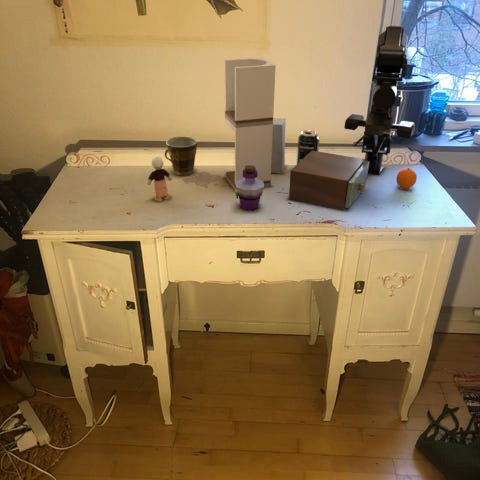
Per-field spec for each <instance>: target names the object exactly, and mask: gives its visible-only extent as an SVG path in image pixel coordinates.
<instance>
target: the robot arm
mask: <svg viewBox="0 0 480 480" xmlns="http://www.w3.org/2000/svg"><path fill="white" fill-rule="evenodd" d="M408 38H409V36H408V34H406V32H405V27H404V26H400V25H388V26H385V30H384V31H382V32H381V33H380V34H379V35H378V40H377V46H376V53H375V60H374V66H373V72H372V81H375V84H374V90H373V96H372V103H371V108H370V111H369V113H368V115H367V118H366V119H365V117H364V115H363V114H356V113H351V114H350V115H349V116H348V117H347V118H346V119H345V121H344V126H343V127H344V129H345V130H348V131H349V130H351V131H356V130H357V129H358V128H359V127H360V128H361V127H362V128H364V131H363V140H362V147H361V154H363V153H365V154H364V159H365V161H369V168H368V173H369V174H373V175H380V174H381V173H382V171H383V170H384V165H383V157H384V155H386V156H388V155H390V153H391V149H392V145H393V144H392V143H393V140H392V138H391V136H392V135H393V133H394V132H396V136H397V137H398V138H403V139H411V138H412V136H413V135H414V133H415V131H416V123H415V122H413V121H407V120H401V121H400V122H399V124H398V123H394V117H393V112H394V106H395V103H396V100H397V88H398V83H399V82H403V79H404V78H406V74H407V70H408V69H407V68H408V63H409V59H408V55H407V54H406V51H407V47H408V45H407V44H408ZM382 165H383V166H382Z"/></svg>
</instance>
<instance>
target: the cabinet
mask: <svg viewBox="0 0 480 480" xmlns="http://www.w3.org/2000/svg"><path fill="white" fill-rule="evenodd" d="M364 162H365V158H360V157H354V156H348V155H344V154H343V155H342V154H335V153H330V152H323V151H319V150H318V151H311V152H310V153H309V154H308V155H307V156H306V157H305V158H304V159H302V160H301V161H300V162H299V163H298V164H297V163H296V165H295V166H294V167H293V168H292V169H290V174H289V177H290V178H289V187H288V188H289V191H288V200H289V201H295V202H300V203H304V204H310V205H315V206H321V207H325V208H329V209H334V210H340V211H345V209H346V207H345V205H346V204H345V202H346V195H347V187H348V182H349V181H350V180H351V179H352V177H353V176H354V175H355V173H356V172H357V171H358V170H359V169H360V167H361V166H362V165H363V163H364Z"/></svg>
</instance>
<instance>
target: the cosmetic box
mask: <svg viewBox="0 0 480 480" xmlns="http://www.w3.org/2000/svg"><path fill="white" fill-rule="evenodd" d="M286 120H287V118H282V117H281V118H274V117H273V135H272V158H271V174H280V175H281V174H283V172H284V169H285V166H286Z"/></svg>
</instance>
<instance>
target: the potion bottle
mask: <svg viewBox="0 0 480 480" xmlns="http://www.w3.org/2000/svg"><path fill="white" fill-rule="evenodd" d="M243 177H244V178H245V179H242V180H239V181H237V182H236V191H235V197H236V199H237V200H239V204H240V205H239V207H240V209H241V210H244V211H247V212H249V211H252V212H254V211H256V210H258V209H259V206H260V201H261V197H263V192H264V188H265V187H264V182H262V181H260V180H257V179H255V178H256V177H257V170H256V167H255V166H252V165H247V166H245V170H243Z"/></svg>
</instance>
